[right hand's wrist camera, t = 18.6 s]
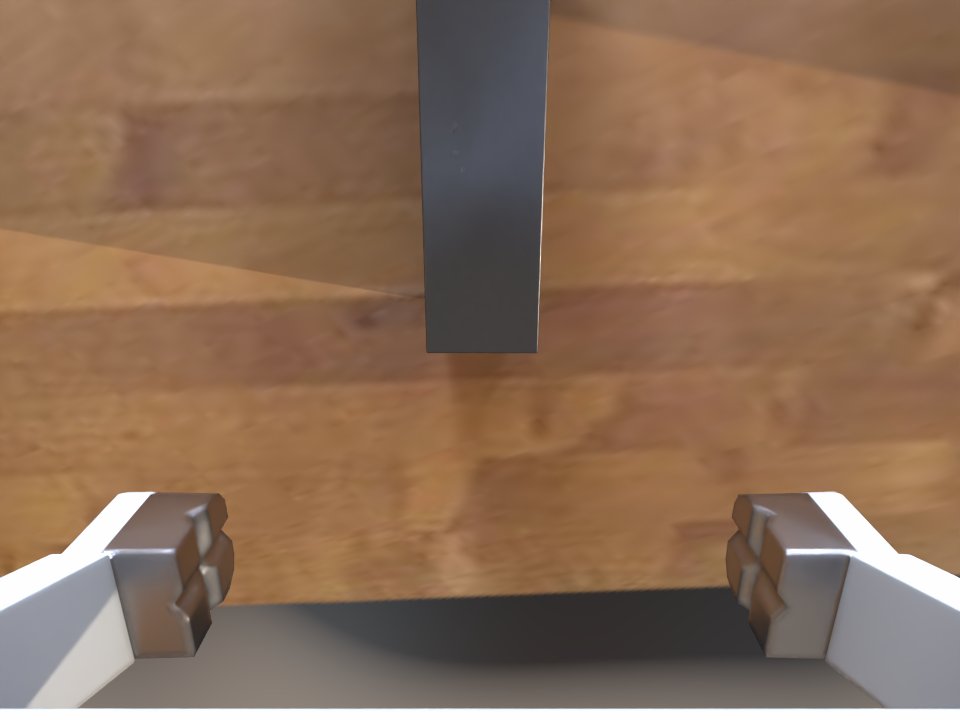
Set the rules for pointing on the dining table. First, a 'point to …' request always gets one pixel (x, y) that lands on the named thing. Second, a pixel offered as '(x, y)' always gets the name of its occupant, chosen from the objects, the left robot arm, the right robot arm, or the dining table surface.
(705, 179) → the dining table surface
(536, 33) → the bar
